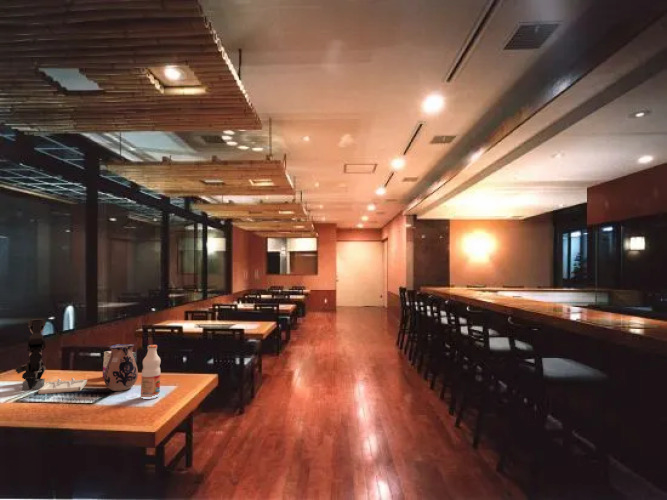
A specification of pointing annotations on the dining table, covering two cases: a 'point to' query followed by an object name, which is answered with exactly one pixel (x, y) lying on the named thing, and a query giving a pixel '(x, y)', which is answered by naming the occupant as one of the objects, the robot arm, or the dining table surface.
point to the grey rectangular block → (37, 385)
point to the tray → (62, 386)
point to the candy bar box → (106, 360)
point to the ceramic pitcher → (121, 368)
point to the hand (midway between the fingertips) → (33, 386)
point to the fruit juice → (151, 373)
